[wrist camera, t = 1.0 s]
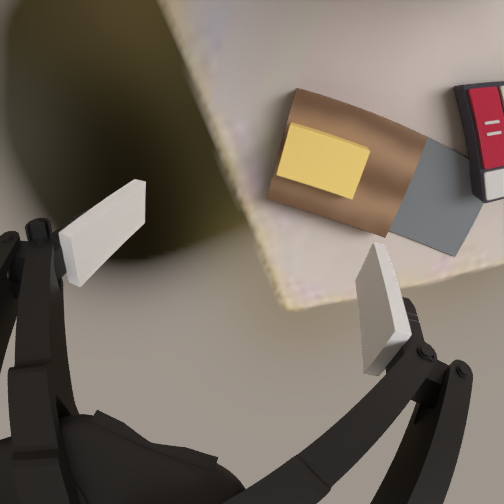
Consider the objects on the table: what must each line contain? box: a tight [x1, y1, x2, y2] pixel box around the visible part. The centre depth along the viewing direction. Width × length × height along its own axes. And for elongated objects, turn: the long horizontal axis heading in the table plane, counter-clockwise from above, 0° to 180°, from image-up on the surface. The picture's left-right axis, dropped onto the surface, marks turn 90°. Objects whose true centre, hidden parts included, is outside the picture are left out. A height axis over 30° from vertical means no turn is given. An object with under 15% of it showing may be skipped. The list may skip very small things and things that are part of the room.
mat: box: [389, 136, 483, 257], centre depth 34 cm, size 14×13×1 cm
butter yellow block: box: [276, 123, 370, 199], centre depth 32 cm, size 6×9×2 cm, turn 77°
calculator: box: [454, 81, 504, 203], centre depth 25 cm, size 11×4×15 cm
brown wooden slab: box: [266, 88, 427, 238], centre depth 34 cm, size 14×16×3 cm
